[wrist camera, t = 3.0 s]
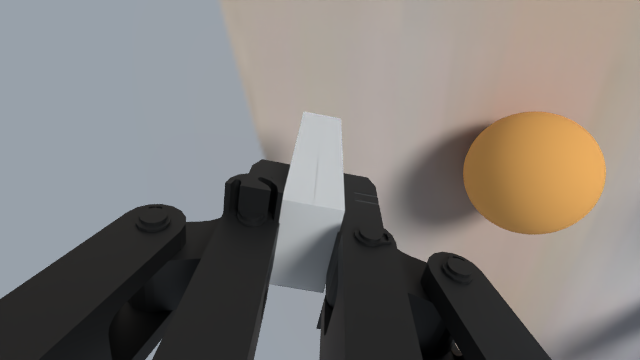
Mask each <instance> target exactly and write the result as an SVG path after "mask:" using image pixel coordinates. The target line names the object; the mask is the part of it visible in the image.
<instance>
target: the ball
mask: <svg viewBox="0 0 640 360" xmlns="http://www.w3.org/2000/svg"><path fill="white" fill-rule="evenodd" d="M605 177H606V166H605V161H604V157H603V154H602V152H601V150H600V148H599V145H598V144H597V142H596V141H595V139H594V138H593V137H592V136H591V135H590V133H588V132H587V131H586V130H585V129H584V128H583V127H581V126H580V125H579V124H577V123H576V122H574V121H572V120H570V119H567V118H565V117H563V116H560V115H556V114H552V113H547V112H523V113H518V114H514V115H511V116H508V117H505V118H502V119H500V120H498V121H496V122H495V123H493V124H491V125H490V126H488V127H487V128H486V129H485V130H484V131H482V132H481V133H480V134H479V135H478V137H477V138H476V139H475V140H474V142H473V143H472V145H471V147H470V149H469V151H468V153H467V155H466V158H465V162H464V169H463V179H464V185H465V189H466V192H467V194H468V196H469V199H470V201H471V202H472V204H473V205H474V207H475V208H476V209H477V210H478V211H479V213H480V214H481V215H483V216H484V217H485V218H486V219H487V220H489V221H490V222H492V223H494V224H495V225H497V226H499V227H501V228H503V229H506V230H509V231H512V232H516V233H522V234H546V233H551V232H556V231H559V230H562V229H565V228H567V227H569V226H571V225H573V224H575V223H576V222H578V221H579V220H581V219H582V218H583V217H584V216H586V215H587V214H588V213H589V212H590V211H591V210H592V208H593V207H594V206H595V204H596V203H597V201H598V199H599V198H600V196H601V193H602V191H603V188H604V184H605Z"/></svg>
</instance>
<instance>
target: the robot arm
mask: <svg viewBox="0 0 640 360" xmlns="http://www.w3.org/2000/svg"><path fill="white" fill-rule="evenodd" d="M269 284H272V285H278V286H284V287H291V288H296V289H302V290H308V291H315V292H321V293H323V292H324V288H325V284H326V295H325V299H324V303H323V306H322V310H321V314H320V317H319V321H318V325H317V329H321V339H320V360H551V358H550V357H549V356H548V355H547V353H546V352H545V351H544V350H543V348H542V347H541V346H540V345H539V343H538V342H537V341H536V339H535V338H534V337H533V336H532V334H531V333H530V332H529V331H528V329H527V328H526V327H525V326H524V324H523V323H522V322H521V321H520V319H519V318H518V317H517V316H516V314H515V313H514V312H513V310H512V309H511V308H510V307H509V305H508V304H507V303H506V302H505V300H504V299H503V298H502V297H501V295H500V294H499V293H498V292H497V290H496V289H495V288H494V287H493V285H492V284H491V283H490V281H489V280H488V279H487V278H486V276H485V275H484V274H483V273H482V271H481V270H480V269H479V268H477V267H476V266H475V265H474V264H473V263H472V262H470V261H468V260H467V259H465V258H464V257H461V256H458V255H456V254H453V253H447V252H439V253H434V254H433V255H432V256H430V257H429V259H428V262H427V263H426V262H424V261H421V260H419V259H416V258H414V257H411V256H409V255H407V254H405V253H403V252H401V251H400V250H398V249H397V246H396V242H395V240H394V238H393V236H392V235H391V234H390V233H389V232H388V231H387V230H386V229H384V228H383V223H382V218H381V213H380V208H379V205H378V197H377V192H376V187H375V186H374V184H373V183H372V182H371V181H370V180H369V179H368V178H367V177H361V176H356V175H350V174H345V173H343V153H342V129H341V119H340V118H335V117H330V116H325V115H320V114H315V113H309V112H304V113H303V117H302V121H301V125H300V129H299V133H298V137H297V141H296V145H295V149H294V153H293V157H292V161H291V165H290V164H284V163H279V162H273V161H268V160H263V159H262V160H260V161H259V162H257V163H256V164H254V165H252V168H251V170H250V172H249V173H248V174H240V175H237V176H234V177H231V178H230V179H229V180H228V181H227V182H226V183H225V196H224V211H223V215H222V217H221V218H219V219H215V220H211V221H203V222H186V217H185V215H184V214H183V213H182V211H181V210H179V209H177V208H175V207H173V206H168V205H163V204H152V205H145V206H141V207H137V208H135V209H133V210H131V211H129V212H127V213H125V214H124V215H123V216H121V217H120V218H118V219H117V220H115V221H114V222H112V223H111V224H109V225H108V226H106V227H105V228H104V229H102V230H101V231H99V232H98V233H96V234H95V235H93V236H92V237H90V238H89V239H88V240H86V241H85V242H83V243H82V244H80V245H79V246H77V247H76V248H74V249H73V250H72V251H70V252H69V253H67V254H66V255H64V256H63V257H61V258H60V259H58V260H57V261H56V262H54V263H52V264H51V265H50V266H48V267H47V268H45V269H44V270H42V271H41V272H39V273H38V274H36V275H35V276H33V277H32V278H31V279H29V280H28V281H26V282H25V283H23V284H22V285H20V286H19V287H17V288H16V289H15V290H13V291H12V292H10V293H9V294H7V295H6V296H4V297H3V298H1V299H0V360H145V359H146V358H147V357H148V355H149V354H150V353H151V352H152V350H153V349H154V348H155V347H156V346H157V344H158V343H159V342H160V341H161V343H160V345H159V347H158V349H157V351H156V353H155V355H154V357H153V359H152V360H254V356H255V351H256V346H257V342H258V337H259V332H260V328H261V323H262V318H263V314H264V308H265V304H266V300H267V293H268V287H269ZM161 339H162V340H161ZM455 343H456V345H457V346H458V348H459V350H460V351H459V350H458V348H457V346H456V345H455Z"/></svg>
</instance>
